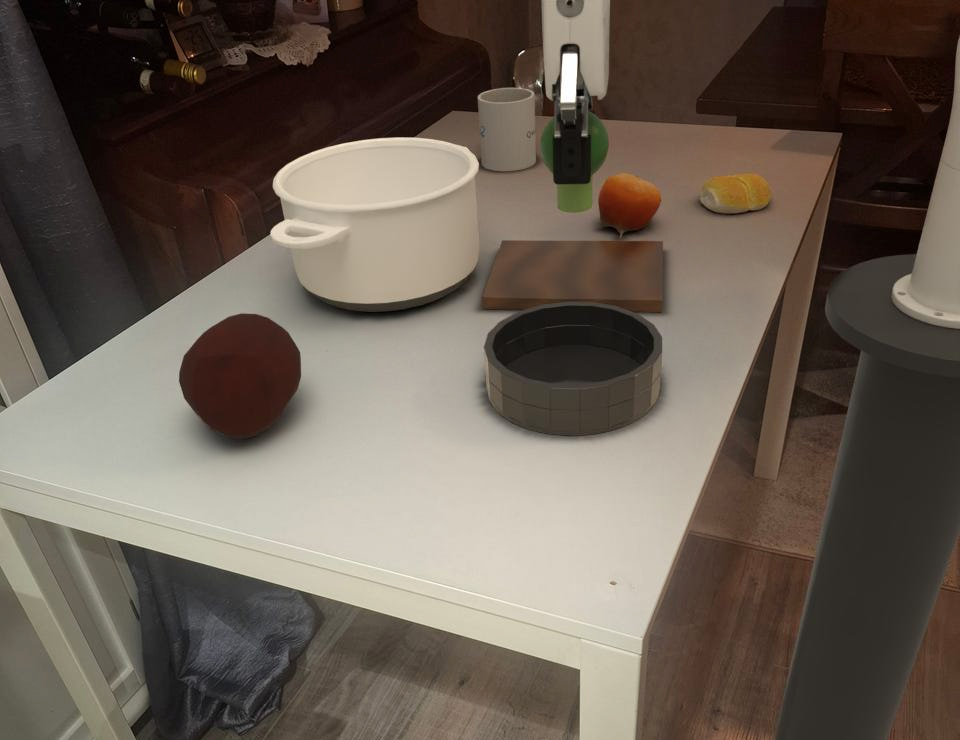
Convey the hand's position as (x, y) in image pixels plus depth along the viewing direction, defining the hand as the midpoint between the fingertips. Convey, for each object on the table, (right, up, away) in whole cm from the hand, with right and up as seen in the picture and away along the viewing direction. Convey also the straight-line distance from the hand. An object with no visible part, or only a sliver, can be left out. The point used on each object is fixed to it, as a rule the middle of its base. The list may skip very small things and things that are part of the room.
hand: (574, 167), depth 80 cm
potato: (-30, -22, +6) cm, 38 cm away
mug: (-3, +23, +63) cm, 67 cm away
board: (+3, -4, +26) cm, 27 cm away
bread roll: (+26, +9, +42) cm, 50 cm away
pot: (-19, -4, +29) cm, 35 cm away
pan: (+1, -19, +7) cm, 20 cm away
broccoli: (0, -3, +2) cm, 3 cm away
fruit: (+11, +5, +38) cm, 40 cm away
